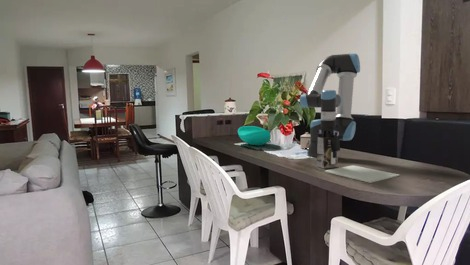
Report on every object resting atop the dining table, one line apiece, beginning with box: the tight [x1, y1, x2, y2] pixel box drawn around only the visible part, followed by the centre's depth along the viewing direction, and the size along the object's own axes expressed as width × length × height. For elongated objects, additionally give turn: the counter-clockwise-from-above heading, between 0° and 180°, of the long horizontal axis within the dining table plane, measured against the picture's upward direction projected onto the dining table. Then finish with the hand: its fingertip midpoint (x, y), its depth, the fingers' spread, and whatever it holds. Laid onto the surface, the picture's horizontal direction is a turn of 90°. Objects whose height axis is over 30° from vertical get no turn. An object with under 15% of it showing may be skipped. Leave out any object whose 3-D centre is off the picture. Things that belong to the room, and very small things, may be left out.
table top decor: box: [237, 125, 271, 146], centre depth 256 cm, size 40×28×13 cm
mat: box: [323, 164, 400, 184], centre depth 159 cm, size 26×22×1 cm
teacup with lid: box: [300, 131, 310, 149], centre depth 238 cm, size 12×9×12 cm
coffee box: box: [316, 137, 339, 169], centre depth 175 cm, size 9×6×16 cm
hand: (327, 162), depth 175 cm, fingers closed on coffee box, 7 cm apart
